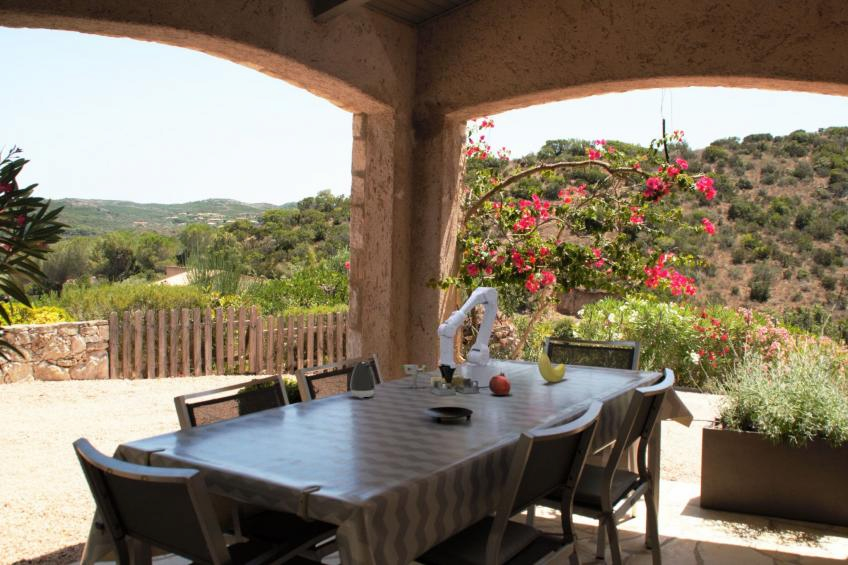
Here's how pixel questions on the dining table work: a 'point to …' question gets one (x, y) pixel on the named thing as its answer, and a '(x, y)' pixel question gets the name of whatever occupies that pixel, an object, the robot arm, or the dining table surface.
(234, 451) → the dining table surface
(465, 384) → the chain end
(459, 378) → the master link
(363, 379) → the dark grey speaker
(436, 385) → the chain end
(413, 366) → the mechanical component
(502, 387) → the fruit
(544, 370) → the banana
